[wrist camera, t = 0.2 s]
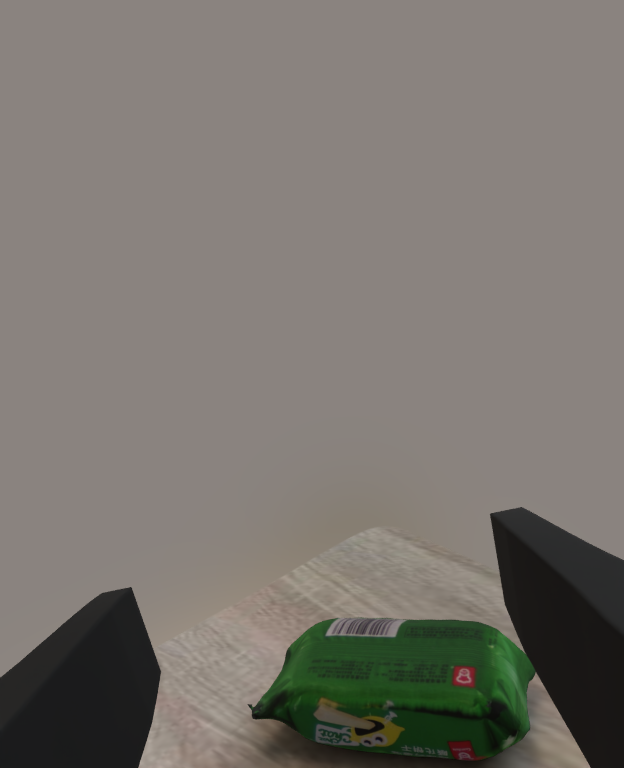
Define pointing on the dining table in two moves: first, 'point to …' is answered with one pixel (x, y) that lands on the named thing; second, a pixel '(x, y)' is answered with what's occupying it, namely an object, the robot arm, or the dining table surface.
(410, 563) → the dining table surface
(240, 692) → the dining table surface
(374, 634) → the snack package
